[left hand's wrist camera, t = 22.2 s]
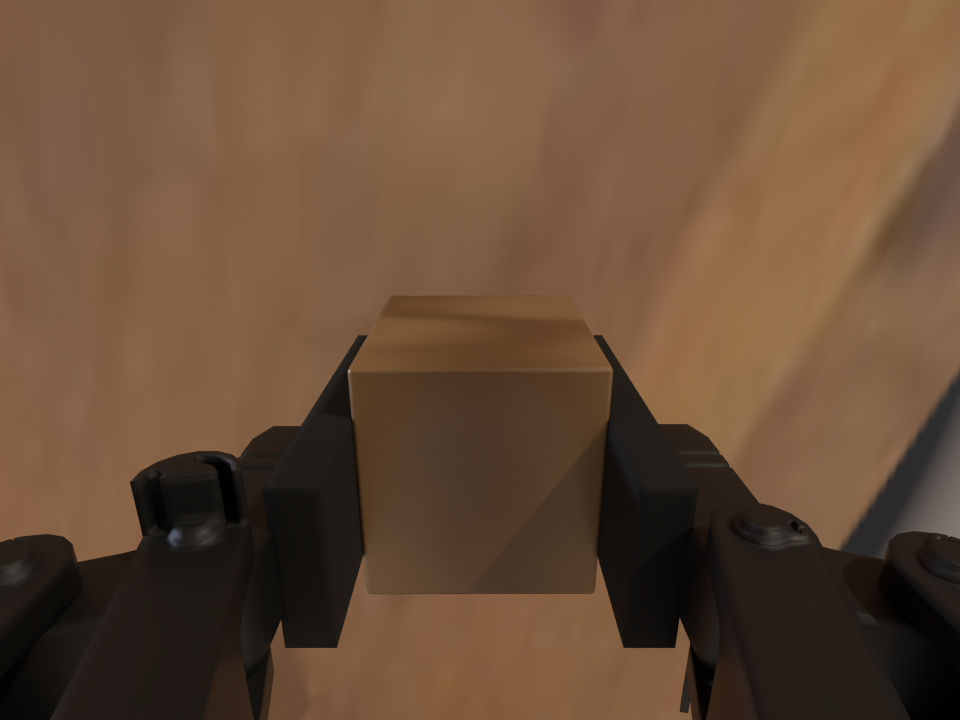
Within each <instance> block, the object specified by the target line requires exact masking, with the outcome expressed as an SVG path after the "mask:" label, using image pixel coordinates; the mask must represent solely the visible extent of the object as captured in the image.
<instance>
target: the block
mask: <svg viewBox="0 0 960 720" xmlns="http://www.w3.org/2000/svg"><path fill="white" fill-rule="evenodd" d="M612 379H613V369H612V367H611V365H610V363H609V362H608V360H607V358H606V357H605V355H604V353H603V352H602V350H601V348H600V347H599V345H598V343H597V341H596V340H595V338H594V336H593V335H592V333H591V331H590V330H589V328H588V326H587V325H586V323H585V321H584V319H583V318H582V316H581V314H580V313H579V311H578V309H577V308H576V306H575V304H574V303H573V301H572V299H571V297H569V296H392V297H390V298H389V300H388V302H387V303H386V305H385V307H384V309H383V310H382V312H381V314H380V315H379V317H378V319H377V321H376V322H375V324H374V326H373V327H372V329H371V331H370V333H369V334H368V336H367V338H366V339H365V341H364V343H363V345H362V346H361V348H360V350H359V351H358V353H357V355H356V357H355V358H354V360H353V362H352V363H351V365H350V367H349V369H348V382H349V393H350V405H351V417H352V426H353V438H354V449H355V461H356V473H357V485H358V497H359V509H360V521H361V532H362V544H363V558H364V569H365V581H366V590H367V592H368V593H369V594H591V593H593V592H594V590H595V585H596V572H597V560H598V556H597V554H598V542H599V530H600V518H601V506H602V494H603V482H604V470H605V458H606V446H607V434H608V422H609V415H610V403H611V391H612Z"/></svg>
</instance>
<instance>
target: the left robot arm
mask: <svg viewBox="0 0 960 720" xmlns="http://www.w3.org/2000/svg"><path fill="white" fill-rule="evenodd" d="M367 336H368V335H358V337H357V339H356V340H355V342H354V343H353V345H352V346H351V348H350V350H349V351H348V353H347V354H346V356H345V357H344V359H343V361H342V362H341V364H340V365H339V367H338V369H337V370H336V372H335V373H334V375H333V376H332V378H331V380H330V381H329V383H328V384H327V386H326V388H325V389H324V391H323V392H322V394H321V395H320V397H319V399H318V400H317V402H316V403H315V405H314V406H313V408H312V410H311V411H310V413H309V414H308V416H307V418H306V419H305V421H304V422H303V424H302V425H301V426H273V427H272V428H270V429H268V430H267V431H265V432H263V433H262V434H260V435H259V436H257V437H255V438H254V439H253V440H252V441H251V442H250V443H249V445H248V446H247V447H246V449H245V450H244V451H243V453H242V454H241V457H239V458H238V459H237V458H236V457H235V456H233V455H232V454H228V453H223V452H219V451H197V452H192V453H186V454H180V455H176V456H173V457H170V458H167V459H165V460H162V461H159V462H157V463H155V464H153V465H151V466H149V467H148V468H146V469H144V470H142V471H141V472H140V473H139V474H138V475H137V476H136V477H135V478H134V479H133V480H132V481H131V482H130V484H131V488H132V493H133V497H134V501H135V505H136V509H137V514H138V518H139V522H140V526H141V530H142V535H143V538H142V540H141V542H140V544H139V546H138V548H137V550H134V551H130V552H126V553H122V554H117V555H112V556H107V557H102V558H97V559H92V560H87V561H82V562H77V559H76V555H75V552H74V548H73V545H72V543H70V542H69V541H68V540H67V539H66V538H64V537H62V536H56V535H50V534H43V535H32V536H22V537H17V538H14V539H13V540H11V539H9V540H6V541H3V542H0V720H268V713H269V705H270V698H271V690H272V683H273V675H274V669H273V661H272V654H271V648H270V645H271V642H272V640H273V637H274V635H275V633H276V630H277V628H278V625H279V623H280V621H281V622H282V628H283V635H284V642H285V648H337V645H338V642H339V638H340V635H341V631H342V628H343V624H344V621H345V617H346V614H347V610H348V606H349V603H350V599H351V596H352V592H353V589H354V585H355V582H356V578H357V575H358V571H359V568H360V564H361V561H362V557H363V544H362V532H361V521H360V509H359V497H358V485H357V473H356V461H355V449H354V438H353V426H352V417H351V405H350V393H349V382H348V369H349V367H350V365H351V363H352V362H353V360H354V358H355V357H356V355H357V353H358V351H359V350H360V348H361V346H362V345H363V343H364V341H365V339H366V338H367ZM593 336H594V338H595V340H596V341H597V343H598V345H599V347H600V348H601V350H602V352H603V353H604V355H605V357H606V358H607V360H608V362H609V363H610V365H611V367H612V369H613V379H612V391H611V403H610V415H609V422H608V434H607V446H606V458H605V470H604V482H603V494H602V506H601V518H600V530H599V542H598V554H597V556H598V559H599V563H600V566H601V570H602V573H603V577H604V580H605V584H606V587H607V591H608V594H609V598H610V602H611V605H612V609H613V612H614V616H615V619H616V623H617V626H618V630H619V633H620V637H621V640H622V644H623V647H624V648H675V644H676V638H677V631H678V624H679V618H680V619H681V621H682V624H683V626H684V629H685V631H686V633H687V636H688V638H689V640H690V648H689V654H688V660H687V667H686V673H685V679H684V685H683V692H682V698H681V705H680V712H684V713H688V710H689V704H691V712H692V719H693V720H960V539H958V538H955V537H948V536H947V535H943V534H938V533H926V532H916V531H913V532H907V533H901V534H897V535H896V536H895V537H894V538H892V539H891V540H890V541H889V543H888V547H887V550H886V554H885V557H884V560H882V559H877V558H872V557H867V556H862V555H857V554H852V553H847V552H842V551H837V550H833V549H829V548H825V547H822V545H821V543H820V541H819V539H818V537H817V536H816V534H815V533H814V532H813V531H812V530H811V528H810V527H809V526H808V525H807V524H806V523H804V522H803V521H801V520H800V519H798V518H797V517H795V516H794V515H792V514H791V513H788V512H786V511H783V510H781V509H778V508H776V507H773V506H770V505H765V504H760V503H759V502H758V501H757V500H756V498H755V497H754V496H753V495H752V493H751V492H750V491H749V489H748V488H747V487H746V486H745V484H744V483H743V482H742V480H741V479H740V478H739V477H738V475H737V474H736V473H735V471H734V470H733V469H732V468H729V464H728V462H727V461H726V460H725V458H724V457H723V456H722V455H720V454H719V451H718V449H717V448H716V447H715V446H714V444H713V443H712V442H711V440H710V439H709V438H708V437H707V436H705V435H704V434H702V433H700V432H699V431H697V430H696V429H694V428H692V427H691V426H689V425H687V424H658V423H657V422H656V420H655V418H654V417H653V415H652V414H651V412H650V411H649V409H648V407H647V406H646V404H645V403H644V401H643V399H642V398H641V396H640V395H639V393H638V392H637V390H636V388H635V387H634V385H633V384H632V382H631V381H630V379H629V377H628V376H627V374H626V373H625V371H624V369H623V368H622V366H621V365H620V363H619V362H618V360H617V358H616V357H615V355H614V354H613V352H612V351H611V349H610V347H609V346H608V344H607V343H606V341H605V339H604V338H603V336H602V335H593Z"/></svg>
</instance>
